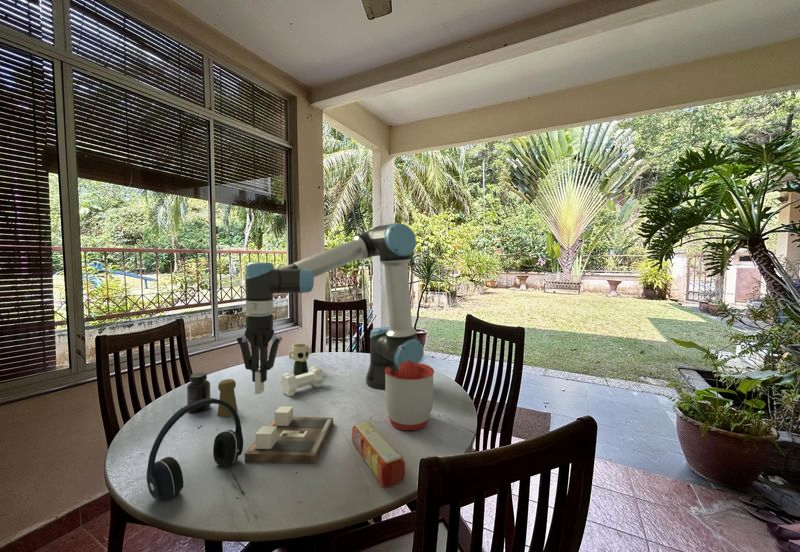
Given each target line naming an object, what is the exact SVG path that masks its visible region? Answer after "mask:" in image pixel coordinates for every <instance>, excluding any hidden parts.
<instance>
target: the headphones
mask: <svg viewBox="0 0 800 552" xmlns="http://www.w3.org/2000/svg"><path fill="white" fill-rule="evenodd" d="M207 404H211V405H213V404H214V405H215V404H216V405H219V404H220V405H223V406H224V407H226V408H227V409H229V411H230V412H231V413H232V415H231V416H232V417H233V420H234V425H235V427H234V429H235V430H232V429H228V430H225V431H221V432H219V433H218V434H217V435H216V436H215V438H214V442H213V449H212V453H213V454H212V455H213V459H214V462H215V463H216V465H218V466H220V467H228V466H231V465H234V464H235V463H237V461H238V458H239V456H241V455H242V454H243V451H244V437H243V431H242V423H241V420H240V417H239V414H238V412H236V411H235V410H234V408H233V407H232V406H230V405H229V404H228V403H226V402H223V401H221V400H219V399H218V398H213V397H210V398H207V399H202V400H199V401H195V402H193V403H191V404H188V405H184V406H183V407H181V408H180V409H178V410H177V411H176V412H175V413H174V414H173V415H172V416H171V417H170V418H169V419H168V420H167V421H166V422H165V424H163V427H161V429H160V431H159V433H158V435H157V437H156V438H155V440H154V442H153V445H152V447H151V450H150V453H149V456H148V462H147V469H146V484H147V488H148V492H149V494H150V495H151V496H152V498H154V500H158V499H159V498H162V499H166V500H170V499H171V498H173V497H174V496H176V495H177V494H179V493H180V492H181V491H182V490H183V488H184V476H183V472H182V468H181V466H180V463H179V462H178V461H177V459H176V458H175V457H172V456H166V457H164V458H161V459H160V460H157V461H156V459H157V454H158V452H159V448H160V446H161V444H162V442H163V440H164V438H165V436H166V435H167V434H168V433H169V431H170V430H171V428H172V427H173V426H174V425H175V424H176V423H177V422H178V420H180V418H182V417H183V416H185V415H186V414H187V413H190V412H189V411H191V410H193V409H195V408H198V407H200V406H203V405H207Z"/></svg>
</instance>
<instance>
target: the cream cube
mask: <svg viewBox="0 0 800 552" xmlns="http://www.w3.org/2000/svg"><path fill="white" fill-rule="evenodd" d="M255 441H256V449H271V448H272V447H273V446H274V444H275V443H276V442H277V426H269V425H262V426H261V427H260V428H259V429H258V431H257V432H256V433H255Z"/></svg>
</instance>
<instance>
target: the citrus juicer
mask: <svg viewBox="0 0 800 552" xmlns="http://www.w3.org/2000/svg"><path fill="white" fill-rule="evenodd" d="M391 370H392V369H390V368H389V367H386V368H385V389H384V392H385V394H384V396H385V397H384V398H385V406H386V412H387V415H388V416H387V417H388V419H389V421H390V424H391V426H393V427H395V428H397V429H399V430H403V431H407V430H412V431H417V430H420V429H422V428H425V427H426V425H427V424H428V422H429V419H430V417H431V412H432V408H433V401H434V373H435V370H434V368H433V367H432V366H430V365H428V364H424V363H420V362H419V363H413V362H412V361H410V360H408V361H407V362H404V363H400V368H399V371H396V372H391Z"/></svg>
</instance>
